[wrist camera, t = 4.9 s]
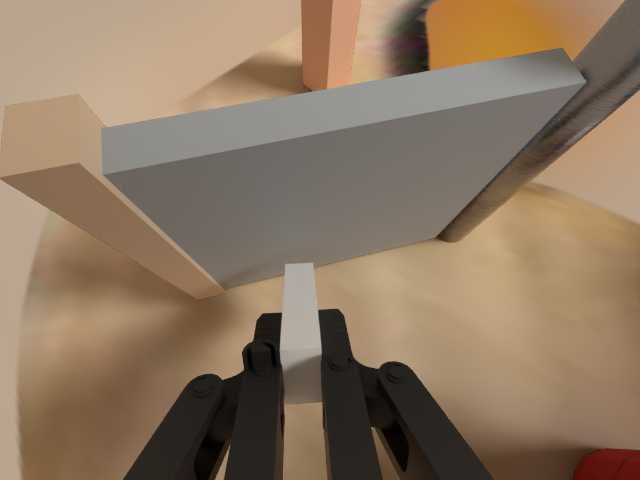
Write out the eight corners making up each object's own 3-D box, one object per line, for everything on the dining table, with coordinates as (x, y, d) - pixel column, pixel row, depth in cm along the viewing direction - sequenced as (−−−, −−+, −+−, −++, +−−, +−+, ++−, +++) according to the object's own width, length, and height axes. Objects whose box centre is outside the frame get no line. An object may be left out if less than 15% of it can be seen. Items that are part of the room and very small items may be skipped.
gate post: (468, 219, 26) (772, -62, 9) (462, 246, 25) (785, -8, 8) (438, 209, 26) (679, -83, 9) (431, 236, 25) (681, -32, 8)
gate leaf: (425, 215, 25) (579, 12, 11) (436, 241, 24) (618, 62, 10) (193, 268, 22) (4, 106, 8) (197, 300, 22) (-3, 177, 8)
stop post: (349, 84, 30) (364, -24, 22) (326, 102, 29) (333, -4, 21) (326, 66, 31) (332, -45, 23) (302, 83, 30) (300, -27, 22)
